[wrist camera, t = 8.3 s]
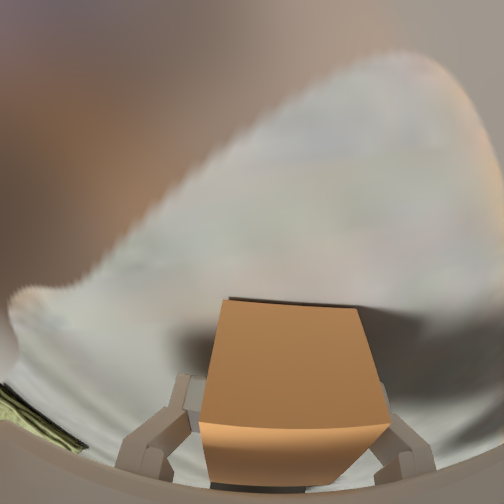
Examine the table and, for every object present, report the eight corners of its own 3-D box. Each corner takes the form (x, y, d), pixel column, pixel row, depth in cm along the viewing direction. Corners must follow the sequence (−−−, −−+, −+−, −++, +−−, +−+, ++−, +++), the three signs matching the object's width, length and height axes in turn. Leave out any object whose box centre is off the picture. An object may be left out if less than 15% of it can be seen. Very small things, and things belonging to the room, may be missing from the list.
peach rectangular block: (356, 308, 10) (391, 423, 6) (321, 396, 13) (329, 484, 9) (222, 299, 11) (198, 421, 6) (223, 391, 13) (210, 481, 9)
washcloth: (90, 442, 22) (81, 466, 20) (51, 448, 28) (45, 463, 26) (-8, 367, 18) (-22, 388, 15) (-15, 395, 24) (-24, 410, 21)
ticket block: (316, 445, 17) (320, 522, 12) (285, 489, 24) (284, 536, 18) (202, 439, 17) (190, 517, 12) (211, 485, 24) (205, 532, 18)
